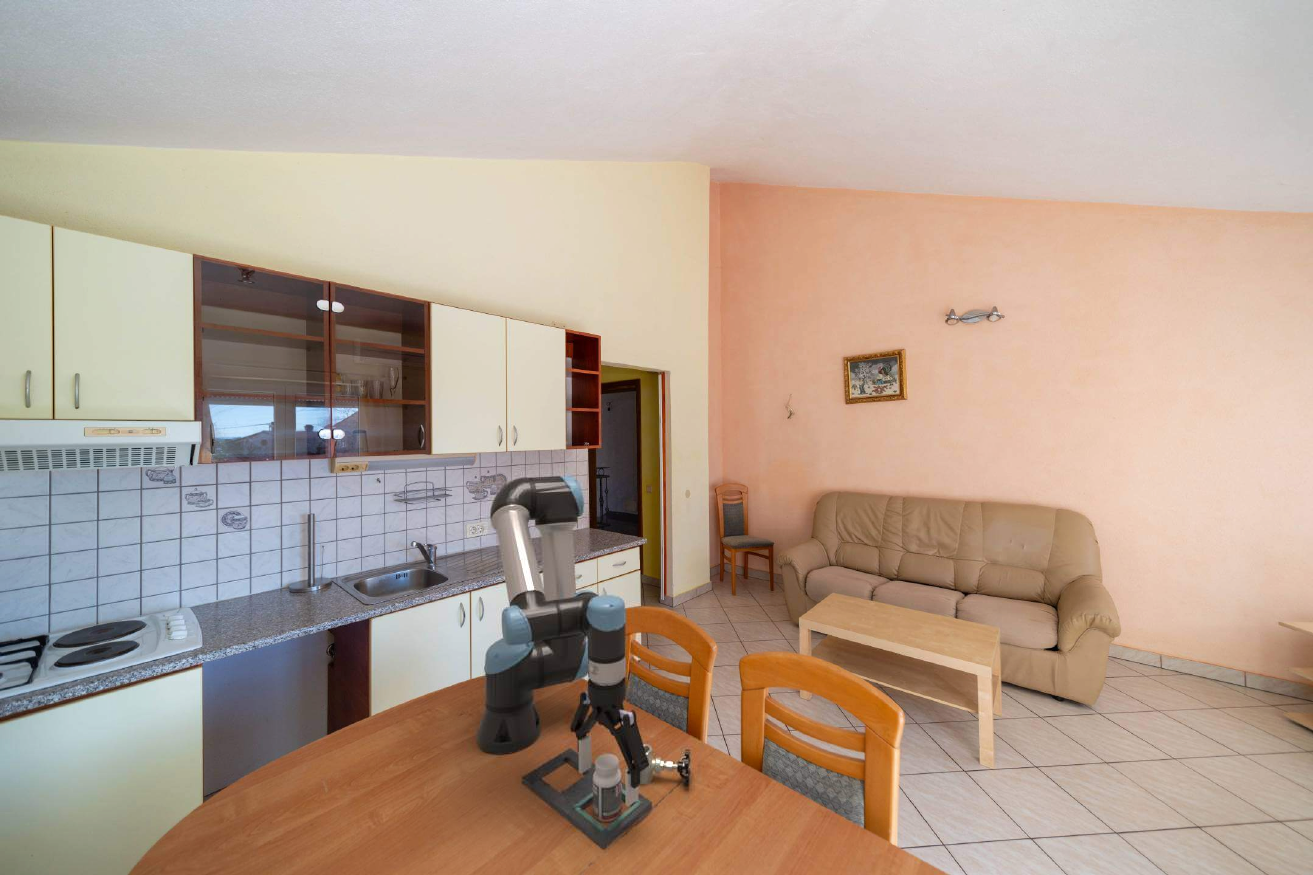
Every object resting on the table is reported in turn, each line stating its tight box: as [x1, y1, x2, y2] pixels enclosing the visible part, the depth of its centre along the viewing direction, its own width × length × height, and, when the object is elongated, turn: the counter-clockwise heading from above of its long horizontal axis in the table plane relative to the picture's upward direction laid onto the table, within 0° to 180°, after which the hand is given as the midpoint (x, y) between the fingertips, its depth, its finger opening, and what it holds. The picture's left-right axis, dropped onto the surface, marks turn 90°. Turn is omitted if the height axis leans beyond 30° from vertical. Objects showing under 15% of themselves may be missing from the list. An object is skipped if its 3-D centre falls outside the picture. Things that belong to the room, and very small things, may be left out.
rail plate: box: [521, 747, 653, 850], centre depth 99 cm, size 26×13×1 cm, turn 49°
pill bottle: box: [592, 753, 623, 823], centre depth 95 cm, size 6×6×10 cm
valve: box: [640, 743, 691, 787], centre depth 103 cm, size 7×7×12 cm
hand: (607, 785), depth 95 cm, fingers open, 13 cm apart
